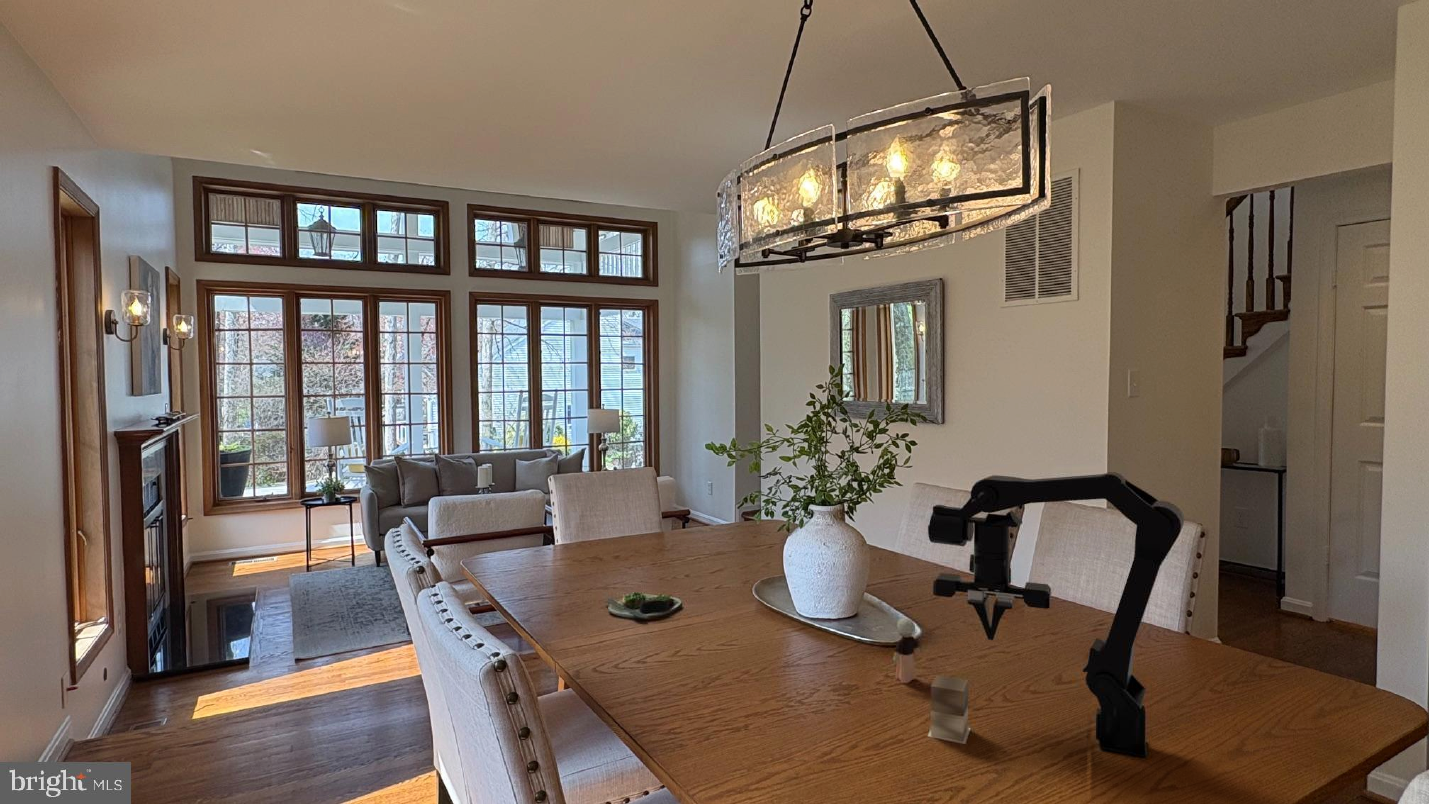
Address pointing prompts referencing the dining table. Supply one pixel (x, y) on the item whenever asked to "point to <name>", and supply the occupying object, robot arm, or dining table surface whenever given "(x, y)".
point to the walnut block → (949, 695)
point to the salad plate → (644, 606)
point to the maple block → (949, 725)
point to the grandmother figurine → (906, 651)
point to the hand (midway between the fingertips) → (990, 639)
